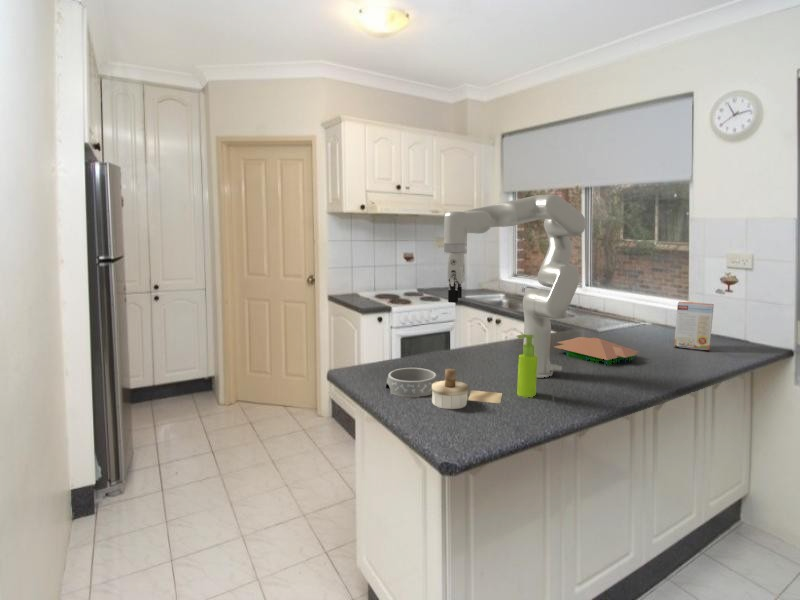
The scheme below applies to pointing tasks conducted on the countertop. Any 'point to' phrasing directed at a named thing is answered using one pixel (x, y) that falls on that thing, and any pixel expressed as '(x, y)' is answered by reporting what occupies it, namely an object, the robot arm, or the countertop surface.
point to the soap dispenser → (527, 369)
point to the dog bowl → (411, 382)
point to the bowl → (449, 401)
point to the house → (596, 349)
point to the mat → (485, 396)
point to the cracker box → (693, 324)
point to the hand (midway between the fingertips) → (455, 300)
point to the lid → (450, 385)
